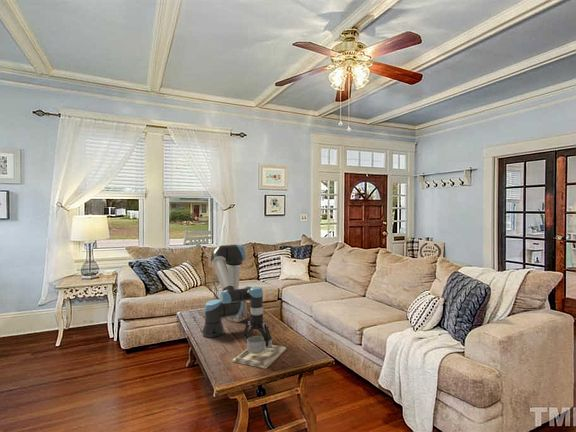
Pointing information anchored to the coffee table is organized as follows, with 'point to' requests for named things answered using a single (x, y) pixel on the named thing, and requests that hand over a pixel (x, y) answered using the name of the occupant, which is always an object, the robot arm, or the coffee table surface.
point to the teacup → (255, 344)
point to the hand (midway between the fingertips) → (257, 350)
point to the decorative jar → (242, 315)
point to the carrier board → (260, 356)
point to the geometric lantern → (215, 286)
